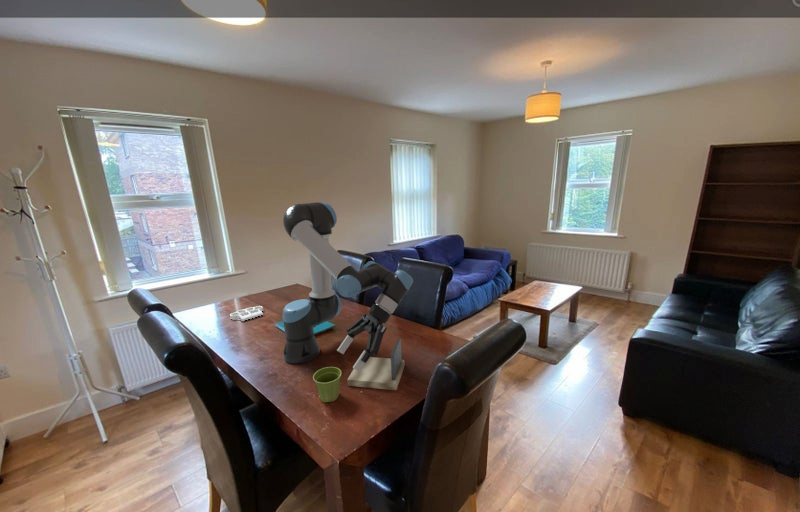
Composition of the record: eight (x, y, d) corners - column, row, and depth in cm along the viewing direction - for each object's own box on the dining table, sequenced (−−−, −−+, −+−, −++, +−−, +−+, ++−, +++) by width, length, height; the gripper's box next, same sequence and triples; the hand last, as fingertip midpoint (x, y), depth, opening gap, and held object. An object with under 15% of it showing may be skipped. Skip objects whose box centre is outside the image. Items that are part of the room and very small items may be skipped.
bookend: (391, 380, 110) (390, 354, 108) (398, 361, 122) (397, 338, 120) (395, 380, 110) (393, 354, 108) (401, 362, 121) (400, 338, 119)
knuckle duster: (236, 325, 169) (227, 318, 179) (268, 315, 181) (259, 309, 191) (235, 319, 168) (226, 312, 178) (268, 309, 181) (258, 304, 191)
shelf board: (347, 385, 112) (347, 379, 111) (361, 361, 127) (361, 356, 127) (396, 390, 108) (396, 383, 108) (404, 365, 124) (404, 359, 123)
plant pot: (329, 410, 100) (327, 386, 98) (309, 400, 105) (307, 377, 103) (349, 393, 107) (347, 371, 106) (329, 385, 112) (327, 364, 111)
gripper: (408, 325, 103) (371, 382, 98) (373, 304, 123) (341, 350, 119) (394, 314, 99) (355, 373, 94) (360, 294, 120) (326, 341, 115)
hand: (347, 360), depth 106 cm, fingers open, 13 cm apart
